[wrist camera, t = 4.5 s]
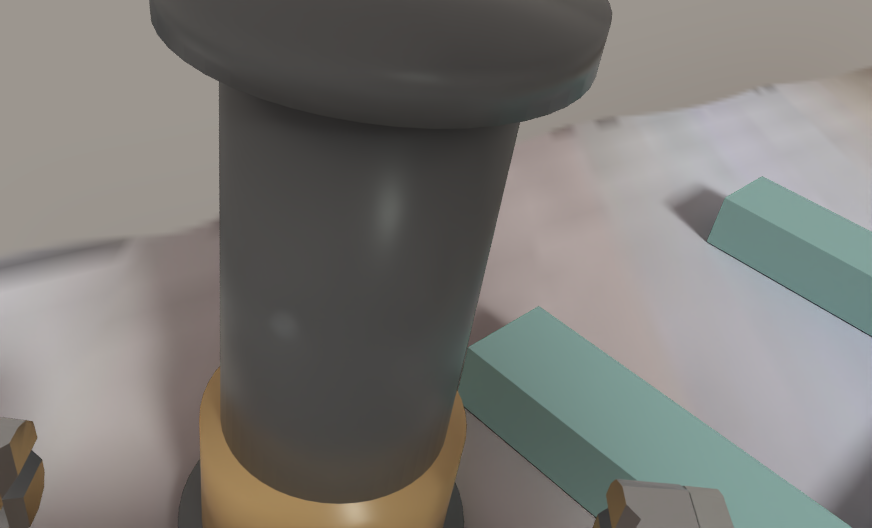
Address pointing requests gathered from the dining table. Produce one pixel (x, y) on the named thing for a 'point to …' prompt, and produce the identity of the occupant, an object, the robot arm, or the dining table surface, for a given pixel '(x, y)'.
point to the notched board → (646, 406)
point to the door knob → (358, 239)
